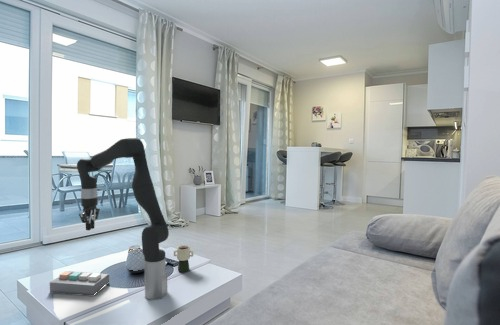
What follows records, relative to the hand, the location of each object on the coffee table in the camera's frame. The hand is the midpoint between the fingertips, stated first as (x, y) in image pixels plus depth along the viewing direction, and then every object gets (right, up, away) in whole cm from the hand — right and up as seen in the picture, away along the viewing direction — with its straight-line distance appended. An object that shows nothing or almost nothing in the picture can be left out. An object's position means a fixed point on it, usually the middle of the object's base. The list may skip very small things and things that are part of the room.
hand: (90, 229), depth 153 cm
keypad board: (+2, -26, -12) cm, 28 cm away
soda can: (+19, -25, +11) cm, 33 cm away
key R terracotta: (-6, -23, -11) cm, 26 cm away
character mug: (+47, -25, +9) cm, 54 cm away
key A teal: (-1, -23, -12) cm, 26 cm away
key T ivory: (+9, -23, -13) cm, 28 cm away
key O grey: (+4, -23, -12) cm, 26 cm away
